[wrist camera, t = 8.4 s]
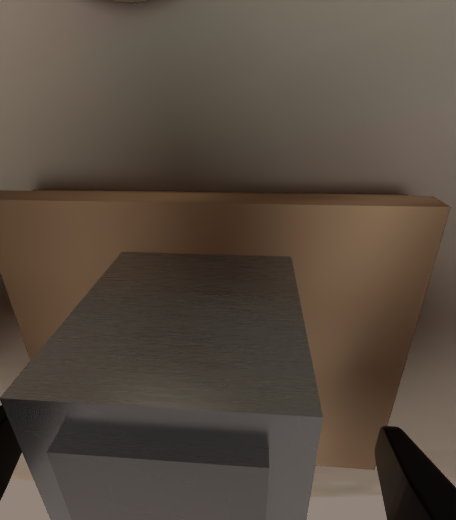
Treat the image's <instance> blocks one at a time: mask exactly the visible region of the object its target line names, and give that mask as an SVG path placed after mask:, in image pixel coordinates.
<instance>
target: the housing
mask: <svg viewBox="0 0 456 520" xmlns="http://www.w3.org/2000/svg"><path fill="white" fill-rule="evenodd" d="M0 400H1V403H2V405H3V407H4V410H5V412H6V415H7V417H8V419H9V422H10V424H11V426H12V429H13V431H14V434H15V436H16V438H17V441H18V443H19V445H20V448H21V450H22V453H23V455H24V457H25V460H26V462H27V464H28V467H29V469H30V472H31V474H32V476H33V479H34V481H35V483H36V486H37V488H38V490H39V493H40V495H41V497H42V500H43V502H44V505H45V507H46V510H47V512H48V514H49V517H50V519H51V520H306V518H307V512H308V506H309V500H310V494H311V488H312V482H313V476H314V470H315V464H316V458H317V452H318V446H319V440H320V434H321V428H322V422H323V414H322V409H321V404H320V399H319V394H318V389H317V384H316V379H315V374H314V369H313V364H312V359H311V353H310V348H309V343H308V338H307V333H306V328H305V323H304V318H303V313H302V308H301V303H300V298H299V293H298V288H297V283H296V278H295V273H294V268H293V263H292V258H291V256H257V255H219V254H180V253H142V252H121V253H120V255H119V256H118V257H117V258H116V259H115V261H114V262H113V263H112V264H111V265H110V266H109V268H108V269H107V270H106V271H105V272H104V274H103V275H102V276H101V277H100V278H99V280H98V281H97V282H96V283H95V284H94V286H93V287H92V288H91V289H90V290H89V292H88V293H87V294H86V295H85V296H84V298H83V299H82V300H81V301H80V302H79V304H78V305H77V306H76V307H75V308H74V310H73V311H72V312H71V313H70V314H69V316H68V317H67V318H66V319H65V320H64V322H63V323H62V324H61V325H60V326H59V328H58V329H57V330H56V331H55V332H54V334H53V335H52V336H51V337H50V338H49V340H48V341H47V342H46V343H45V344H44V346H43V347H42V348H41V349H40V350H39V352H38V353H37V354H36V355H35V356H34V358H33V359H32V360H31V361H30V362H29V364H28V365H27V366H26V367H25V368H24V370H23V371H22V372H21V373H20V374H19V376H18V377H17V378H16V379H15V380H14V382H13V383H12V384H11V385H10V386H9V388H8V389H7V390H6V391H5V392H4V394H3V395H2V396H1V397H0Z"/></svg>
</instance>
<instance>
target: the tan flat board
mask: <svg viewBox="0 0 456 520" xmlns="http://www.w3.org/2000/svg"><path fill="white" fill-rule="evenodd" d="M450 208H451V207H450V206H448V205H446V204H445V203H443V202H442V201H440V200H438V199H437V198H435V197H428V196H408V195H388V194H314V193H241V192H167V191H93V190H33V191H0V273H1V276H2V279H3V282H4V284H5V287H6V290H7V293H8V296H9V299H10V302H11V305H12V308H13V311H14V314H15V317H16V320H17V323H18V325H19V328H20V331H21V334H22V337H23V340H24V343H25V346H26V349H27V352H28V355H29V358H30V361H31V360H32V359H33V358H34V356H35V355H36V354H37V353H38V352H39V350H40V349H41V348H42V347H43V346H44V344H45V343H46V342H47V341H48V340H49V338H50V337H51V336H52V335H53V334H54V332H55V331H56V330H57V329H58V328H59V326H60V325H61V324H62V323H63V322H64V320H65V319H66V318H67V317H68V316H69V314H70V313H71V312H72V311H73V310H74V308H75V307H76V306H77V305H78V304H79V302H80V301H81V300H82V299H83V298H84V296H85V295H86V294H87V293H88V292H89V290H90V289H91V288H92V287H93V286H94V284H95V283H96V282H97V281H98V280H99V278H100V277H101V276H102V275H103V274H104V272H105V271H106V270H107V269H108V268H109V266H110V265H111V264H112V263H113V262H114V261H115V259H116V258H117V257H118V256H119V255H120V253H121V252H142V253H180V254H219V255H257V256H291V258H292V263H293V268H294V273H295V278H296V283H297V288H298V293H299V298H300V303H301V308H302V313H303V318H304V323H305V328H306V333H307V338H308V343H309V348H310V353H311V359H312V364H313V369H314V374H315V379H316V384H317V389H318V394H319V399H320V404H321V409H322V414H323V422H322V428H321V434H320V440H319V446H318V452H317V458H316V464H315V466H329V467H344V468H358V469H372V470H375V466H376V461H375V445H376V442H377V438H378V434H379V431H380V428H381V427H382V426H387V425H388V422H389V418H390V415H391V411H392V408H393V404H394V401H395V397H396V394H397V391H398V387H399V384H400V380H401V377H402V373H403V370H404V366H405V363H406V360H407V356H408V353H409V349H410V346H411V342H412V339H413V335H414V332H415V328H416V325H417V322H418V318H419V315H420V311H421V308H422V304H423V301H424V297H425V294H426V291H427V287H428V284H429V280H430V277H431V273H432V270H433V266H434V263H435V259H436V256H437V253H438V249H439V246H440V242H441V239H442V235H443V232H444V228H445V225H446V222H447V218H448V215H449V211H450Z"/></svg>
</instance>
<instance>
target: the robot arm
mask: <svg viewBox="0 0 456 520" xmlns="http://www.w3.org/2000/svg"><path fill="white" fill-rule="evenodd" d="M21 453H22V450H21V448H20V445H19V443H18V441H17V438H16V436H15V434H14V431H13V429H12V426H11V424H10V422H9V419H8V417H7V415H6V412H5V410H4V407H3V405H1V406H0V500H1V498H2V496H3V494H4V492H5V489H6V487H7V485H8V483H9V481H10V478H11V476H12V474H13V471H14V469H15V467H16V464H17V462H18V460H19V458H20V455H21ZM375 461H376V466H377V471H378V476H379V481H380V486H381V491H382V496H383V501H384V506H385V511H386V515H387V520H456V487H455V486H454V485H453V484H452V483H451V482H450V481H449V480H448V479H447V478H446V477H445V476H444V474H443V473H442V472H441V471H440V470H439V469H438V468H437V467H436V466H435V465H434V464H433V463H432V461H431V460H430V459H429V458H428V457H427V456H426V455H425V454H424V453H423V452H422V451H421V450H420V449H419V447H418V446H417V445H416V444H415V443H414V442H413V441H412V440H411V439H410V438H409V437H408V436H407V434H406V433H405V432H404V431H403V430H402V429H400V428H399V427H391V426H382V427H381V428H380V431H379V434H378V438H377V442H376V445H375Z"/></svg>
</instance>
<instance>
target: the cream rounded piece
mask: <svg viewBox="0 0 456 520" xmlns="http://www.w3.org/2000/svg"><path fill="white" fill-rule="evenodd" d="M112 1H117V2H125V3H136V2H144V1H148V0H112Z"/></svg>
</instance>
